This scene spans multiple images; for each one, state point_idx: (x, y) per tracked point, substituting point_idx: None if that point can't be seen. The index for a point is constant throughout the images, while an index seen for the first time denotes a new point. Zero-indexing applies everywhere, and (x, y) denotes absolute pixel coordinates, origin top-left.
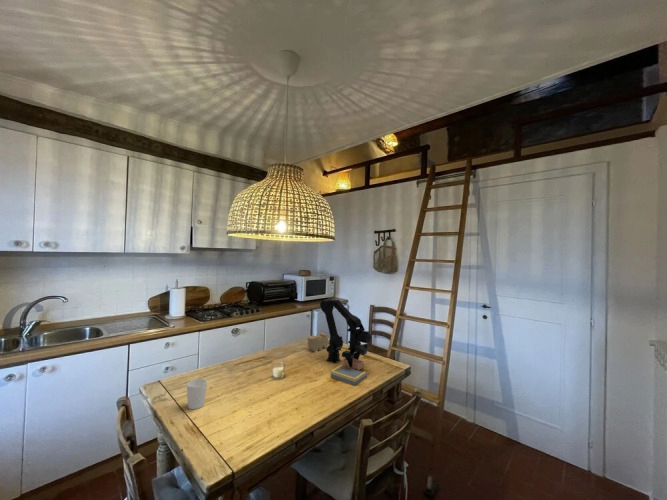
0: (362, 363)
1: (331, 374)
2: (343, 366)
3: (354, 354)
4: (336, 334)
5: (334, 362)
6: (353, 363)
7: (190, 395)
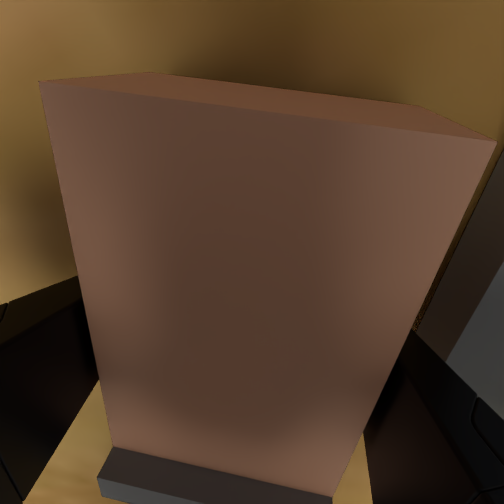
0: (146, 87)
1: None
2: None
3: (5, 495)
4: None
5: None
6: (397, 329)
7: None
